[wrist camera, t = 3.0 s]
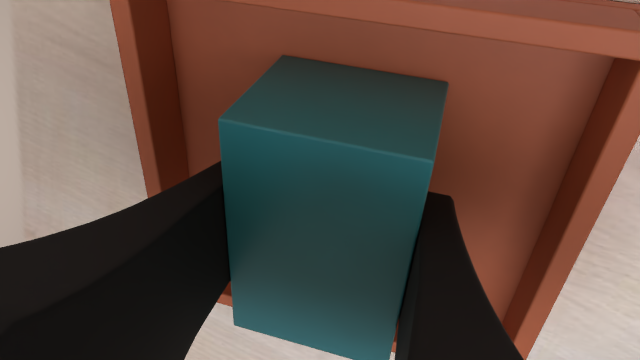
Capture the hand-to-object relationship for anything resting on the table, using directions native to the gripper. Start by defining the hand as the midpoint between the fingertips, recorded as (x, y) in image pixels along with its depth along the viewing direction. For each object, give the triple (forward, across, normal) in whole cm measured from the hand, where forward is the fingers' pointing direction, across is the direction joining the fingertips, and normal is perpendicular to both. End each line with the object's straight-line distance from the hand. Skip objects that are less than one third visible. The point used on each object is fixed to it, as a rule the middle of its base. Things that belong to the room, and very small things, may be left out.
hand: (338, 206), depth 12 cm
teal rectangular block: (+2, 0, 0) cm, 2 cm away
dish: (+2, 0, 0) cm, 2 cm away
